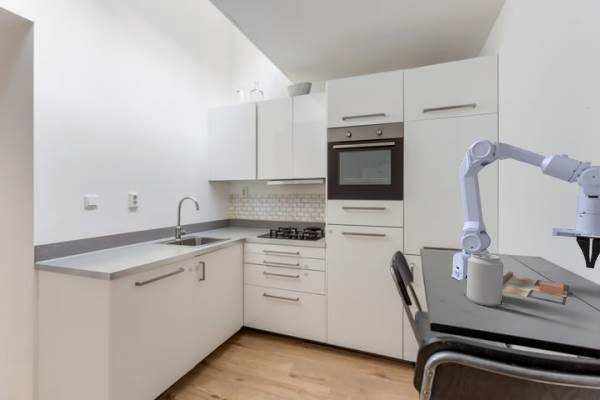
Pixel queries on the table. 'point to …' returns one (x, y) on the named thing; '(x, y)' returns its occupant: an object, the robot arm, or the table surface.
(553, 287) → the tile block
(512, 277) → the trap board
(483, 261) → the can
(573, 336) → the table surface
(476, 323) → the table surface
